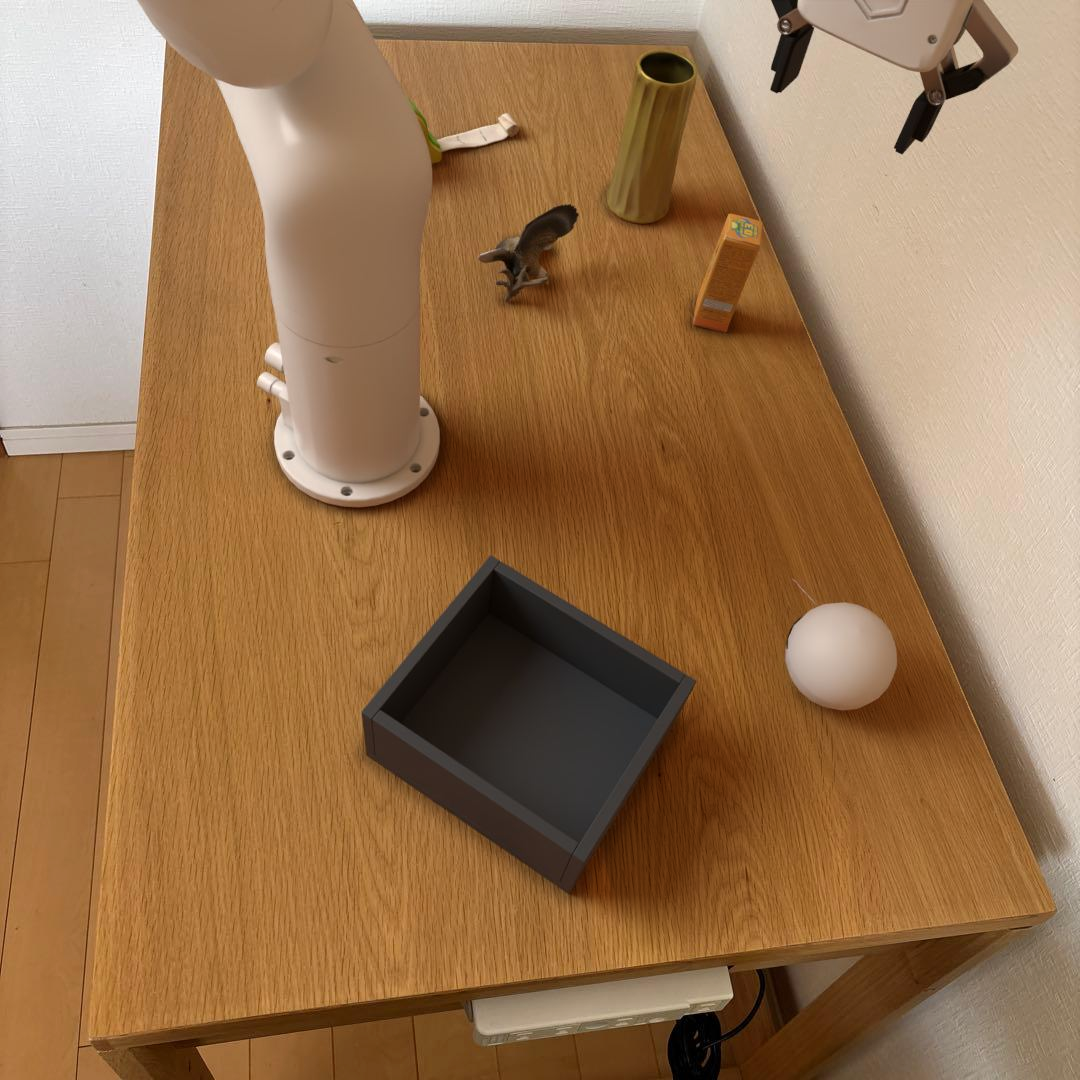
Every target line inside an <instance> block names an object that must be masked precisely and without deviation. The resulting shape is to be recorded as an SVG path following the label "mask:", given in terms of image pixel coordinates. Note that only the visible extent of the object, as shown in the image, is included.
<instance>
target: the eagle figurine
mask: <svg viewBox="0 0 1080 1080" xmlns="http://www.w3.org/2000/svg"><path fill="white" fill-rule="evenodd" d="M577 211H578V209H577V208H576V207H575V205H572V203H569V204H567V203H565V204H560V205H556V206H553V207H552V208H549V209H548V210H547V211H545V212H543V213H542V214H540V215H537V216H536V217H535V218H533V219H532V220H531V221H529V222H528V223H527V224H526V225H525V226H524V227H523V229H522V232H521V233H520V235H519V236H516V237H509V238H506V239H503V240H501V241H500V242H499V243H498V244H497V245H496V247H495V248H494V249H491V250H489V251H485V252H483V253H480V254H479V255H478V257H477V260H478V261H479V262H481V263H483V264H489V263H493V262H502V263H504V265H505V268H504V269H503V268H502V269H499V270H498V271H499V274H504V275H506V281H504V280H496V281H494V284H495V285H496V286H503V287H504V288H506V294H505V297H504V302H505V303H509V301H510V300H511V299H513V297H516V296H517V295H518V294H519V293H520V291H521V290H524V289H525V288H528V287H535V286H543V285H547V286H548V285H549V283H550V282H549V280H550V279H549V277H548V276H549V274H548V272H547V271H546V270H545V269H544V267H542V266H541V264H540V261H539V258H540V255H541V254H542V252H544V251H550V250H552V247H551V245H553V244H555V243H556V242H557V240H558V239H560V238H563V237H565V236H566V235H568V234H569V233H570V232H572V231H573V230H574V227H575V224H576V223H577V220H578V218H579V216H580V214H579V212H577ZM529 276H530V277H534V278H536V279H531V278H530V277H529Z"/></svg>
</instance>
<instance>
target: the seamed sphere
mask: <svg viewBox="0 0 1080 1080" xmlns="http://www.w3.org/2000/svg"><path fill="white" fill-rule="evenodd" d="M791 580H793V581H794V582H795V584H796V585H797V586H798V587H799V588H800V590H802V591H803V593H804V594H806V596H807V597H808V598H809V599H810V600H811V601H812V603H813V604H814V605H815V606H816V605H817V603H816V602H815V601H814V600H813V599H812V597H811V596H809V594H808V593H807V592H806V591H805V590H804V589H803V588H802V587H801V585H800V584H799V583H798V582H797V580H795V579H794V578H792V577H791ZM785 644H786V645H785V652H784V653H785V654H784V660H785V661H784V662H785V666H786V668H787V671H788V675H789V677H790V680H791V681H792V683H793V684H794V685H795V687H796V689H797V690H798V691H799V692H800V693H801V694H802V695H803V696H804V697H805V698H806V699H807V700H808V701H810V702H812V703H814V704H817V705H818V706H820V707H823V708H826V709H832V710H837V711H851V710H852V711H853V710H858V709H860V708H862V707H865V706H867V705H868V704H871V703H872V702H875V701H876V700H877V699H880V697H881V696H882V695H883V694H884V693H885V692H886V691H887V690H888V688H889V687H890V685H891V683H892V681H893V679H894V675H895V673H896V669H897V667H898V655H897V646H896V642H895V640H894V637H893V635H892V631H891V630H890V629H889V627H888V626H887V625H886V623H885V622H884V621H883V619H882V618H880V617H879V616H878V615H876V613H874V612H873V611H872V610H870V609H867V608H865V607H864V606H861V605H859V604H856V603H851V602H846V601H845V602H832V603H823V604H821V605H818V606H816V607H814V608H811V609H810V610H808V611H807V612H806V613H805V614H803V615H802V616H800V617H798V619H797V620H796V621H795V622H794V623H793V624H792V626H791V628H790V629H789V631H788V635H787V638H786V643H785Z"/></svg>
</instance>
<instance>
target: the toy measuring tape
mask: <svg viewBox="0 0 1080 1080" xmlns="http://www.w3.org/2000/svg"><path fill="white" fill-rule="evenodd" d="M407 98H408V100H409V102H410V103H411V105H412V107H413V109H414V111H415V114H416V116H417V118H418V120H419V123H420V125H421V128H422V131H423V133H424V136H425V139H426V142H427V146H428V149H429V153H430V158H431V165H433V164H437V163H440V162H441V161H442V158H443V153H444V152H447V151H449V150H450V151H451V150H455V149H465V148H468V149H469V148H474V149H476V148H477V147H478V148H479V147H483V146H488V145H491V144H494V143H496V142H500V141H503V140H506V139H507V138H508V136H509V137H510V138H513V137H514V136H515V135H517V133H518V132H519V128H520V127H519V125H518V124H517V123H516V121H515V120H514V119H513V117H512V116H511V114H510V113H508V112H505V113H502V114H501V115H500V116H499V117H498V118H497V121H498V122H497V123H493V124H491V125H490V124H489V125H485V126H481V127H477V128H473V129H471V130H467V131H465V132H460V133H456V134H452V135H448V136H445V137H442V138H438V139H436V138H435V137H434V136H433V134H432V132H431V131H430V130H429V127H428V123H427V119H426V118H425V117H424V115H423V114H422V112H421V111H420V110H419V109H418V107H417V106H416V104H415V103H414V102H413V101H412V100H411V99H410V98H409V97H408V96H407Z"/></svg>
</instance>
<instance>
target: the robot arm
mask: <svg viewBox="0 0 1080 1080" xmlns="http://www.w3.org/2000/svg"><path fill="white" fill-rule="evenodd" d="M136 1H137V3H138V5H139V6H140V8H141V9H142V11H143V13H144V14H145V15H146V17H147V18H148V20H149V22H150V23H151V25H152V26H153V27H154V29H156V30H157V32H158V34H160V35H161V37H162V38H163V39H164V40H165V41H166V43H168V45H169V46H170V47H171V48H173V50H174V51H175V52H177V54H179V55H180V56H181V57H183V59H185V60H186V61H187V62H188V63H189V64H190V65H192V66H193V67H195V68H197V69H198V70H200V71H201V72H202V73H204V74H205V75H208V76H209V77H211V78H213V79H214V81H215V82H216V84H217V86H218V89H219V90H220V92H221V95H222V97H223V100H224V101H225V105H226V106H227V109H228V111H229V114H230V116H231V119H232V121H233V124H234V126H235V127H234V128H235V131H236V134H237V136H238V139H239V141H240V144H241V147H242V149H243V151H244V154H245V156H246V160H247V162H248V164H249V167H250V170H251V173H252V176H253V179H254V183H255V187H256V190H257V193H258V197H259V202H260V206H261V210H262V211H261V212H262V216H263V224H264V252H265V262H266V270H267V278H268V284H269V291H270V297H271V303H272V307H273V311H274V317H275V323H276V331H277V336H278V341H277V342H273V343H272V344H270V345H269V347H268V348H267V350H266V351H265V354H264V362H265V364H266V365H267V366H269V367H271V368H273V369H275V370H276V371H278V372H280V373H281V374H283V375H284V380H285V382H284V381H282V380H281V379H280V378H279V377H277V376H275V374H272V373H271V372H268V371H263V372H262V373H261V374H260V375H259V377H258V378H257V381H256V386H257V387H258V388H259V389H260V390H262V391H264V392H266V393H267V394H268V395H271V396H274V397H275V398H277V399H278V402H279V404H280V410H281V411H280V413H279V415H278V417H277V419H276V424H275V427H274V432H273V434H274V435H273V436H274V437H273V438H274V439H273V441H274V442H273V445H274V449H275V455H276V459H277V461H278V463H279V466H280V468H281V471H282V472H283V473H284V475H285V476H286V478H287V479H288V480H289V481H290V482H291V483H292V484H293V485H294V486H295V487H296V489H298V490H299V491H301V492H302V493H304V494H306V495H307V496H309V497H310V498H312V499H314V500H318V501H320V502H322V503H325V504H329V505H334V506H337V507H338V506H339V507H345V508H366V507H376V506H379V505H383V504H387V503H390V502H393V501H395V500H397V499H400V498H402V497H404V496H406V495H407V494H409V493H410V492H412V491H414V490H415V489H416V488H418V487H419V486H420V485H421V484H422V483H423V482H424V481H425V480H426V478H427V477H428V476H429V474H430V473H431V472H432V470H433V468H434V467H435V464H436V462H437V459H438V457H439V451H440V444H441V437H440V436H441V434H440V426H439V421H438V418H437V416H436V413H435V411H434V410H433V408H432V406H431V405H430V404H429V402H428V401H427V400H426V398H425V397H424V396H422V395H421V255H422V244H423V234H424V230H425V225H426V220H427V215H428V212H429V207H430V202H431V198H432V190H433V166H432V165H433V164H431V158H430V153H429V149H428V146H427V142H426V139H425V136H424V133H423V131H422V128H421V125H420V123H419V120H418V118H417V116H416V114H415V111H414V109H413V107H412V105H411V103H410V102H409V100H408V98H409V97H408V96H407V94H406V93H405V91H404V88H403V87H402V86H401V83H400V82H399V80H398V78H397V76H396V75H395V72H394V71H393V69H392V67H391V66H390V63H389V62H388V60H387V59H386V58H385V56H384V54H383V53H382V51H381V49H380V47H379V44H378V43H377V42H376V40H375V38H374V36H373V34H372V33H371V31H370V29H369V27H368V25H367V24H366V22H365V20H364V18H363V16H362V14H361V13H360V11H359V9H358V7H357V5H356V3H355V1H354V0H136ZM770 1H771V4H772V6H773V9H774V11H775V13H776V16H777V19H778V20H777V23H776V26H777V27H776V28H777V30H778V32H779V33H780V35H779V39H778V42H777V46H776V49H775V53H774V55H773V59H772V62H771V66H770V70H771V71H772V72H774V76H773V78H772V82H771V85H770V89H769V91H771V92H772V93H775V94H779V93H780V94H781V93H782V92H783V91H784V90H785V89H786V88H788V87H789V85H791V84H792V83H793V82H794V81H795V80H796V79H797V78H798V77H799V75H800V72H801V70H802V66H803V63H804V61H805V58H806V54H807V52H808V49H809V46H810V42H811V40H812V36H813V34H814V31H815V28H816V29H818V30H819V31H821V32H823V33H825V34H828V35H830V36H832V37H834V38H836V39H838V40H840V41H843V42H844V43H846V44H849V45H851V46H853V47H855V48H857V49H859V50H861V51H864V52H866V53H868V54H870V55H871V56H872V55H873V56H875V57H876V58H879V59H881V60H883V61H886V62H887V63H889V64H892V65H895V66H897V67H899V68H902V69H904V70H907V71H911V72H915V73H919V75H920V79H921V82H922V86H923V91H922V92H921V93H920V94H919V95H918V96H917V97H916V99H915V100H914V102H913V103H912V106H911V108H910V110H909V113H908V114H907V117H906V119H905V122H904V123H903V126H902V128H901V130H900V133H899V135H898V137H897V139H896V141H895V144H894V147H893V149H894V152H895V153H898V154H900V155H904V153H905V152H907V150H908V149H909V148H910V146H911V145H912V144H913V143H914V142H915V140H916V141H918V142H920V143H923V142H924V141H925V140H926V139H927V138H928V135H929V134H930V133H931V131H932V129H933V127H934V124H935V122H936V121H937V118H938V116H939V113H940V112H941V110H942V108H943V105H944V103H945V101H948V100H950V99H953V98H956V97H958V96H961V95H964V94H967V93H971V92H973V91H975V90H977V89H978V88H980V86H981V85H983V84H984V83H986V82H987V81H988V80H990V79H991V78H992V77H994V76H995V75H997V74H998V73H1000V71H1002V70H1003V69H1004V68H1006V67H1008V66H1009V65H1010V64H1011V62H1012V61H1013V60H1014V59H1015V57H1017V55H1018V53H1019V46H1018V44H1017V43H1016V42H1015V40H1014V39H1013V38H1012V37H1011V35H1010V34H1009V32H1008V31H1007V30H1006V29H1005V27H1004V26H1003V25H1002V23H1001V22H1000V20H999V19H998V18H997V17H996V15H995V14H994V13H993V11H992V9H990V7H989V6H988V4H987V3H986V2H985V0H770ZM966 31H967V33H968V35H969V36H970V37H971V39H973V41H974V42H975V43H976V45H977V46H978V47H979V49H980V50H981V52H982V57H981V58H980V59H978V60H976V61H974V62H972V63H969V64H966V65H963V66H959V63H958V62H959V61H958V57H957V55H956V51H955V50H956V49H955V45H957V43H958V42H959V41H960V40H961V39H962V37H963V35H964V34H965V32H966ZM407 97H408V98H407Z"/></svg>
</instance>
